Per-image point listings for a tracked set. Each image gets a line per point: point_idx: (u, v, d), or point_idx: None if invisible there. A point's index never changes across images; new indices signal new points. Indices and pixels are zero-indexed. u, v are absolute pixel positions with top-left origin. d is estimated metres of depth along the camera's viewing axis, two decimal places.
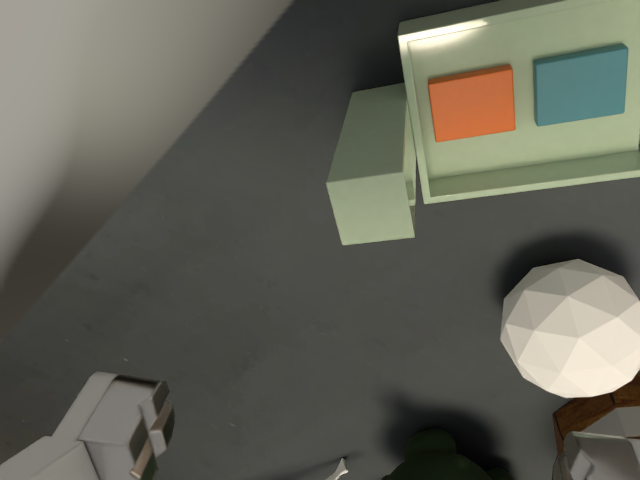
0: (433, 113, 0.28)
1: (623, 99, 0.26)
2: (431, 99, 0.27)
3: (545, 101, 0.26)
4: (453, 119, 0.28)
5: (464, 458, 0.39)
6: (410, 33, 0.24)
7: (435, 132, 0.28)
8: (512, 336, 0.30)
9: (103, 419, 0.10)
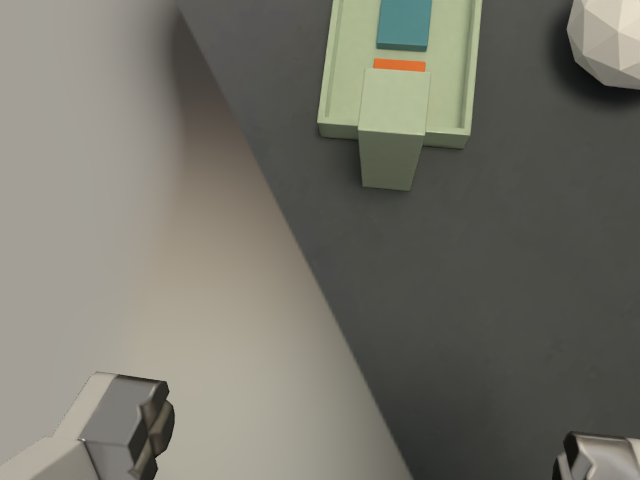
0: None
1: None
2: None
3: (407, 38, 0.34)
4: None
5: None
6: (318, 113, 0.33)
7: None
8: (634, 60, 0.28)
9: (103, 419, 0.10)
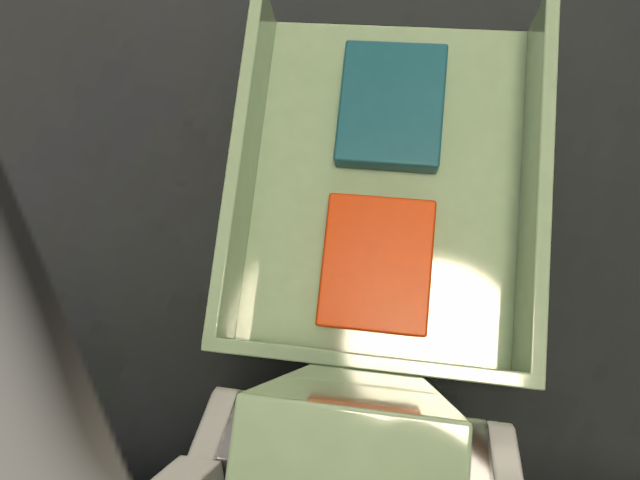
0: (368, 328, 0.15)
1: (424, 45, 0.17)
2: (342, 325, 0.16)
3: (396, 150, 0.16)
4: (388, 297, 0.16)
5: None
6: (204, 328, 0.15)
7: (405, 333, 0.15)
8: None
9: None
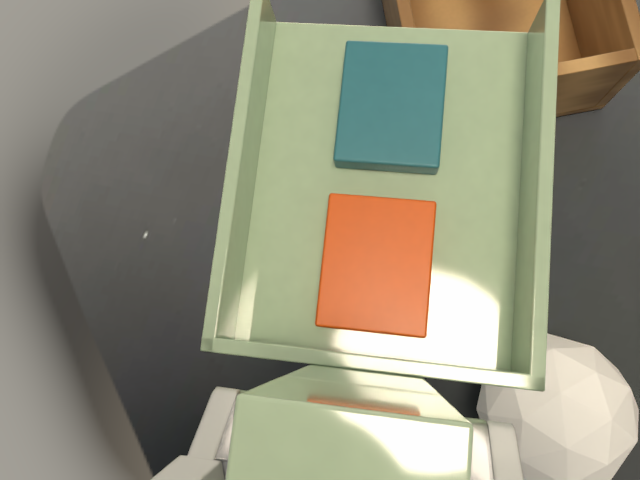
0: (368, 328, 0.15)
1: (424, 45, 0.17)
2: (342, 326, 0.16)
3: (396, 151, 0.16)
4: (388, 297, 0.16)
5: None
6: (204, 329, 0.15)
7: (405, 333, 0.15)
8: None
9: None
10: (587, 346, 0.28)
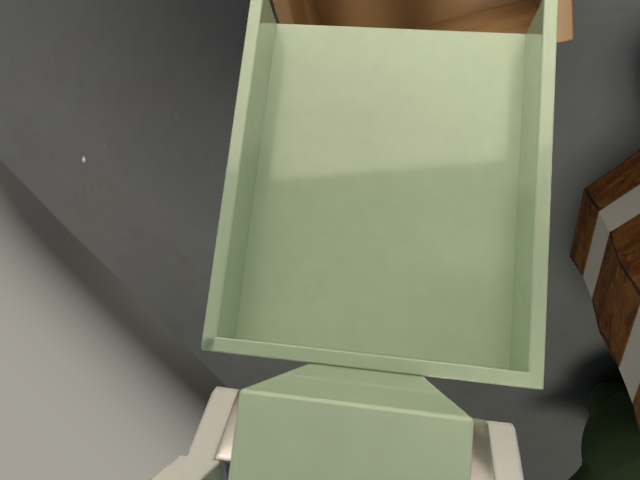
0: None
1: None
2: None
3: None
4: None
5: (594, 405, 0.39)
6: (204, 328, 0.15)
7: None
8: None
9: None
10: None
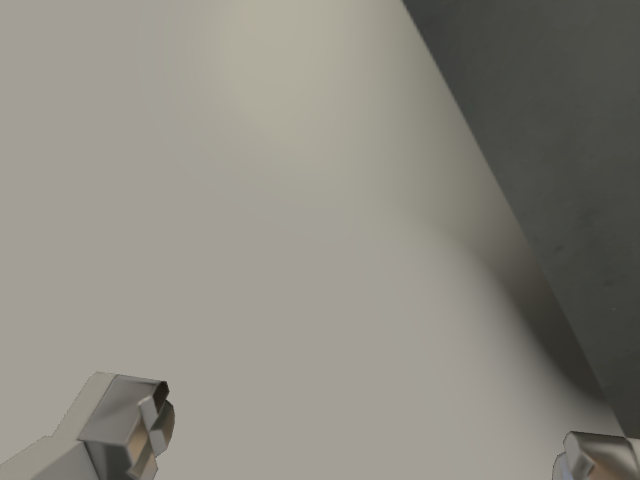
0: None
1: None
2: None
3: None
4: None
5: None
6: None
7: None
8: None
9: (103, 419, 0.10)
10: None
